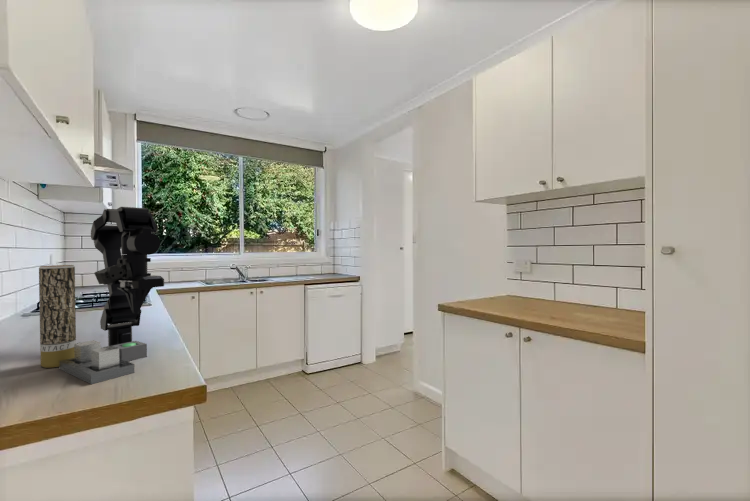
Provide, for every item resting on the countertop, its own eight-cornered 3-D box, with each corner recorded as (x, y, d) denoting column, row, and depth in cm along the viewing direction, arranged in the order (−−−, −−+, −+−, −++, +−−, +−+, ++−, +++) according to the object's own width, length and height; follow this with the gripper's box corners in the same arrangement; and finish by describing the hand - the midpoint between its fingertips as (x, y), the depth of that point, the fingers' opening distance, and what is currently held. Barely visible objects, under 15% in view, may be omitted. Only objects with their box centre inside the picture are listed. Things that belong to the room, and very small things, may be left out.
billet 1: (74, 368, 89) (74, 343, 89) (94, 363, 92) (93, 340, 92) (81, 371, 86) (80, 346, 86) (100, 366, 90) (100, 342, 90)
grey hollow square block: (111, 359, 96) (111, 345, 96) (136, 353, 101) (136, 340, 101) (121, 362, 92) (121, 349, 92) (146, 356, 97) (146, 343, 97)
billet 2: (99, 379, 81) (98, 352, 81) (91, 375, 83) (91, 349, 83) (119, 373, 85) (119, 348, 84) (111, 370, 87) (111, 345, 87)
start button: (120, 354, 96) (120, 344, 96) (132, 351, 99) (132, 342, 99) (125, 355, 94) (125, 346, 94) (138, 353, 97) (137, 343, 97)
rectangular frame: (59, 369, 88) (59, 360, 88) (100, 359, 95) (100, 352, 95) (91, 384, 78) (91, 375, 78) (134, 372, 85) (134, 364, 85)
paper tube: (47, 362, 93) (45, 265, 93) (80, 358, 96) (78, 264, 96) (35, 370, 87) (33, 266, 87) (71, 366, 90) (69, 266, 90)
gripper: (83, 255, 95) (84, 314, 95) (115, 255, 84) (116, 322, 85) (130, 254, 104) (131, 308, 104) (164, 254, 94) (165, 314, 94)
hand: (135, 313), depth 96 cm, fingers closed
